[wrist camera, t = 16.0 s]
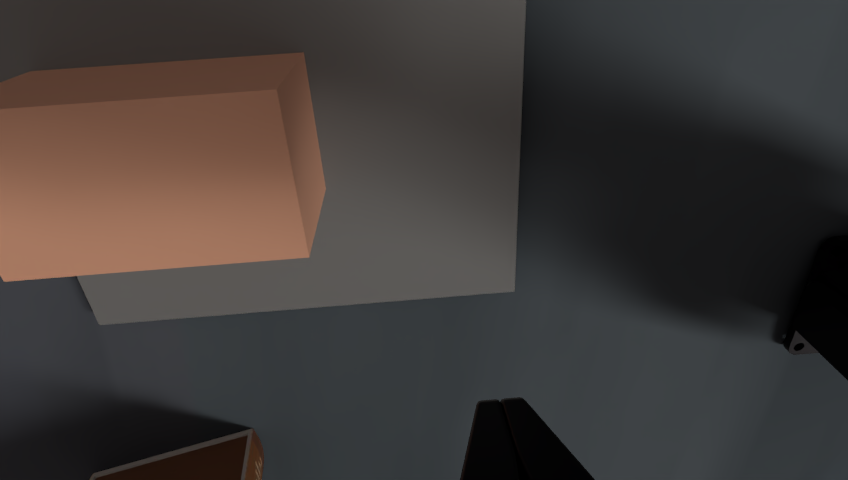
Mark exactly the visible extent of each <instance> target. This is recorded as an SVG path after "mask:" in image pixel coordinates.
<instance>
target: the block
mask: <svg viewBox="0 0 848 480" xmlns="http://www.w3.org/2000/svg"><path fill="white" fill-rule="evenodd" d="M325 191H326V186H325V180H324V174H323V167H322V161H321V155H320V149H319V143H318V137H317V131H316V124H315V118H314V112H313V106H312V100H311V94H310V88H309V81H308V75H307V69H306V63H305V57H304V52H301V53H287V54H272V55H258V56H243V57H229V58H214V59H200V60H185V61H171V62H156V63H142V64H127V65H113V66H98V67H84V68H70V69H55V70H41V71H30V72H27V73H24V74H22V75H19V76H16V77H14V78H11V79H8V80H6V81H3V82H0V275H1V277H2V279H3V281H4V282H6V281H19V280H32V279H44V278H57V277H69V276H82V275H95V274H107V273H120V272H132V271H145V270H158V269H170V268H183V267H196V266H208V265H221V264H233V263H246V262H259V261H271V260H284V259H297V258H309V257H310V252H311V248H312V244H313V240H314V236H315V232H316V228H317V224H318V219H319V215H320V211H321V207H322V203H323V199H324V195H325Z"/></svg>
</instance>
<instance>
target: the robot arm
mask: <svg viewBox="0 0 848 480" xmlns="http://www.w3.org/2000/svg"><path fill="white" fill-rule="evenodd" d="M834 248H835V249H834ZM833 249H834V250H833ZM784 347H785V348H786V349H787V350H788V352H789V353H791V354H794V355H797V354H809V353H820V354H821V355H822V356H823V357H824V358H825V359H826V360H827V361H828V362H829V363H830V364H831V365H832V366H833V367H834V368H835V369H836V370H838V371H839V372H840V373H841V374H842V375H843V376H844V377H845V378H846V379H847V380H848V236H842V237H833V238H829V239H827V240H825V241H824V242H823V243H822V244H821V246H820V248H819V250H818V253H817V256H816V258H815V261H814V264H813V266H812V269H811V272H810V274H809V277H808V279H807V282H806V285H805V287H804V290H803V293H802V295H801V298H800V301H799V303H798V306H797V309H796V311H795V314H794V317H793V319H792V322H791V325H790V327H789V330H788V333H787V335H786V338H785V340H784ZM460 480H595V479H594V478H593V477H592V476H591V475H590V474H589V473H588V471H587V470H586V469H585V468H584V467H583V466H582V465H581V463H580V462H579V461H578V460H577V459H576V458H575V457H574V455H573V454H572V453H571V452H570V451H569V450H568V449H567V447H566V446H565V445H564V444H563V443H562V442H561V441H560V439H559V438H558V437H557V436H556V435H555V434H554V433H553V432H552V430H551V429H550V428H549V427H548V426H547V425H546V424H545V422H544V421H543V420H542V419H541V418H540V417H539V416H538V414H537V413H536V412H535V411H534V410H533V409H532V408H531V406H530V405H529V404H528V403H527V402H526V401H525V400H524V399H523V398H520V397H517V398H506V399H502V400H501V401H500V402H499V400H496V399H494V400H483V401H479V402H478V403H477V405H476V410H475V414H474V419H473V423H472V428H471V432H470V437H469V441H468V446H467V451H466V455H465V460H464V464H463V469H462V473H461V478H460Z"/></svg>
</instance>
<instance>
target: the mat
mask: <svg viewBox="0 0 848 480" xmlns="http://www.w3.org/2000/svg"><path fill="white" fill-rule="evenodd" d="M525 17H526V0H0V82H3V81H6V80H8V79H11V78H14V77H16V76H19V75H22V74H24V73H27V72H30V71H41V70H55V69H70V68H84V67H98V66H113V65H127V64H142V63H156V62H171V61H185V60H200V59H214V58H229V57H243V56H258V55H272V54H287V53H301V52H304V57H305V63H306V69H307V75H308V81H309V88H310V94H311V100H312V106H313V112H314V118H315V124H316V131H317V137H318V143H319V149H320V155H321V161H322V167H323V174H324V180H325V186H326V191H325V195H324V199H323V203H322V207H321V211H320V215H319V219H318V224H317V228H316V232H315V236H314V240H313V244H312V248H311V252H310V257H309V258H297V259H284V260H271V261H259V262H246V263H233V264H221V265H208V266H196V267H183V268H170V269H158V270H145V271H132V272H120V273H107V274H95V275H82V276H77V278H78V280H79V282H80V284H81V287H82V289H83V291H84V293H85V295H86V297H87V300H88V302H89V304H90V306H91V308H92V310H93V312H94V315H95V317H96V319H97V321H98V323H99V325H106V324H118V323H131V322H143V321H155V320H168V319H180V318H193V317H205V316H217V315H230V314H242V313H254V312H267V311H279V310H291V309H304V308H316V307H329V306H341V305H353V304H366V303H378V302H390V301H403V300H415V299H427V298H440V297H452V296H464V295H477V294H489V293H502V292H514V291H515V269H516V244H517V218H518V193H519V168H520V143H521V118H522V92H523V67H524V42H525Z"/></svg>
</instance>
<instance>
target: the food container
mask: <svg viewBox="0 0 848 480" xmlns="http://www.w3.org/2000/svg"><path fill="white" fill-rule="evenodd" d="M263 464H264V453H263V447H262V444H261V442H260V439H259V437H258V436H257V434H256V432H255V431H254V429H253V428H252V429H249V430H245V431H241V432H238V433H234V434H231V435H227V436H224V437H220V438H217V439H213V440H210V441H206V442H203V443H199V444H195V445H192V446H188V447H185V448H181V449H178V450H174V451H171V452H167V453H164V454H160V455H157V456H153V457H149V458H146V459H142V460H139V461H135V462H132V463H128V464H125V465H121V466H118V467H114V468H111V469H107V470H103V471H100V472H96V473H93V474H92V476H91V478H90V479H89V480H262V472H263Z"/></svg>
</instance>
